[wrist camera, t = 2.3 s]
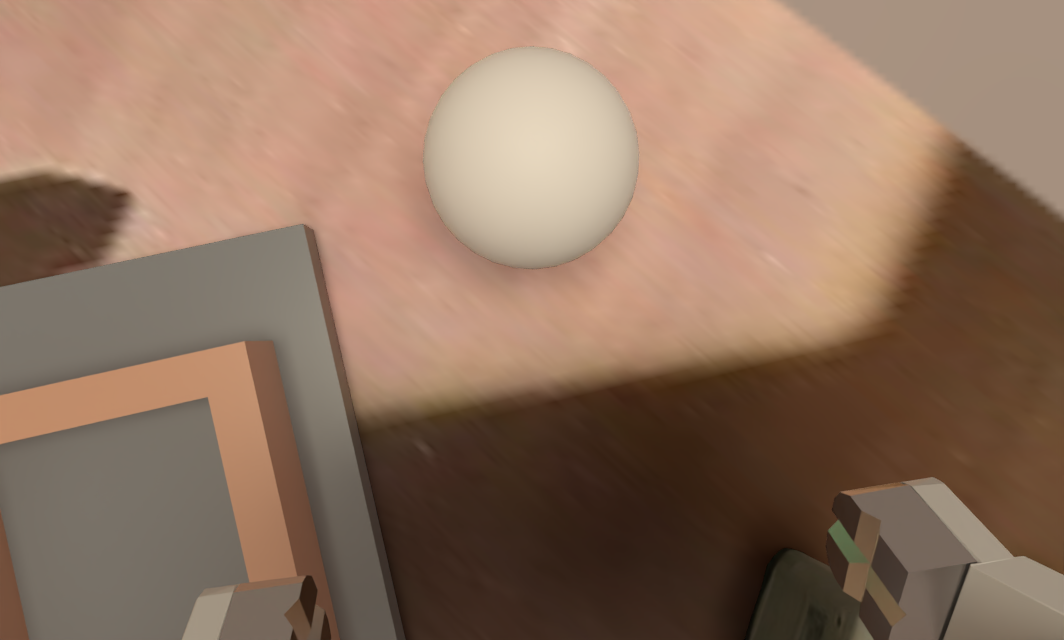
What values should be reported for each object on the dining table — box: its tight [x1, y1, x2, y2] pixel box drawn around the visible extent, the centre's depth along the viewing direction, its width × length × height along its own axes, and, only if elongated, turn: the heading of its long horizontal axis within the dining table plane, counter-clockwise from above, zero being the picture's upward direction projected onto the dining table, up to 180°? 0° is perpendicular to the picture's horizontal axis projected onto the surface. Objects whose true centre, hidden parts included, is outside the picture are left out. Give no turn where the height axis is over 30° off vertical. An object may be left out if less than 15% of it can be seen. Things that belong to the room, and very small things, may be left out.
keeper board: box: [0, 224, 406, 640], centre depth 23 cm, size 20×16×4 cm
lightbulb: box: [423, 46, 639, 269], centre depth 22 cm, size 6×6×11 cm
